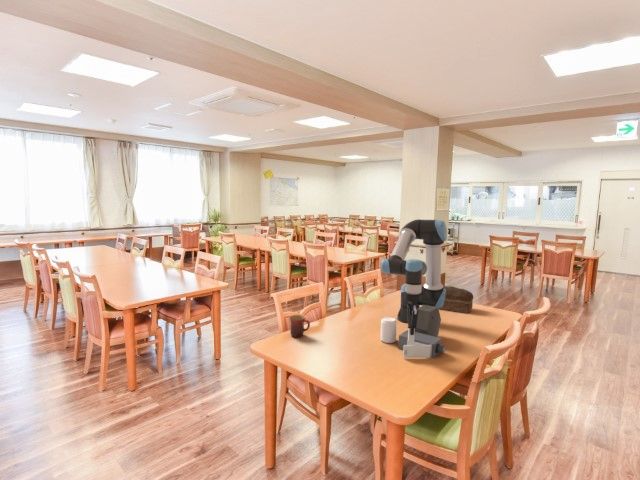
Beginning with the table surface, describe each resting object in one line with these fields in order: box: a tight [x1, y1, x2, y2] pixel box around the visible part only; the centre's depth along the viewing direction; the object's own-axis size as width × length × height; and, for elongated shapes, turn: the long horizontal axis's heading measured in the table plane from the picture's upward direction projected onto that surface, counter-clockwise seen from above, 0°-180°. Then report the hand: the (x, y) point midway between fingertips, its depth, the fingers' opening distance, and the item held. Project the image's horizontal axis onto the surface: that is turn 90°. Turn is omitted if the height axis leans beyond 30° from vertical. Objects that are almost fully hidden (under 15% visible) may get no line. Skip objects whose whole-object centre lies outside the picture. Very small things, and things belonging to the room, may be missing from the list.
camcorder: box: [397, 329, 446, 359], centre depth 178 cm, size 21×10×8 cm, turn 52°
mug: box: [288, 314, 311, 338], centre depth 197 cm, size 12×9×10 cm
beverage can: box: [380, 316, 397, 344], centre depth 191 cm, size 8×8×12 cm
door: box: [402, 344, 433, 359], centre depth 169 cm, size 14×2×7 cm, turn 92°
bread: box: [438, 285, 474, 314], centre depth 252 cm, size 15×32×16 cm, turn 59°
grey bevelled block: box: [415, 305, 442, 338], centre depth 194 cm, size 17×8×21 cm
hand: (411, 340), depth 172 cm, fingers closed
